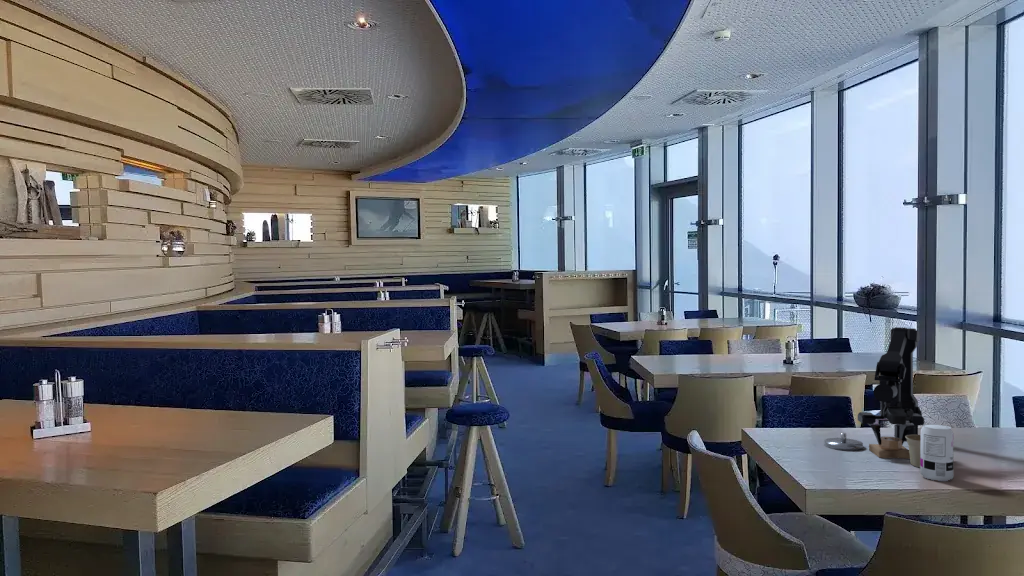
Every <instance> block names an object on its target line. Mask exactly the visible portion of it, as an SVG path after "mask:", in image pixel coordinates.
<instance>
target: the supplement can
mask: <svg viewBox="0 0 1024 576" xmlns="http://www.w3.org/2000/svg"><path fill="white" fill-rule="evenodd" d="M954 434H955V433H954V432H953V429H952V428H951V426H948V425H945V424H940V423H939V424H938V423H924V425H922V427H921V428H920V435H921V445H920V467H919V469H920V475H921V476H922V477H923V478H924V479H926V478H927V479H926V480H929V479H931V480H930V481H934V480H938V481H937V482H949V481H948V480H950V479H951V480H952V479H953V478H954V460H955V459H954V449H955V447H954V446H955V445H954V443H955V442H954V439H955V438H954ZM951 480H950V481H951Z"/></svg>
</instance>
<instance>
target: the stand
mask: <svg viewBox="0 0 1024 576" xmlns="http://www.w3.org/2000/svg"><path fill="white" fill-rule="evenodd" d="M888 440H893V439H888ZM868 450H869V452H871V453H872V454H874V455H875V456H876V457H878V458H879V459H880V458H881V459H904V460H906V459H910V453H909V448H907V447H906V446H904V445H902V449H901V450H886V449H881V448H880V447H879V444H877V443H869V444H868Z"/></svg>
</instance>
